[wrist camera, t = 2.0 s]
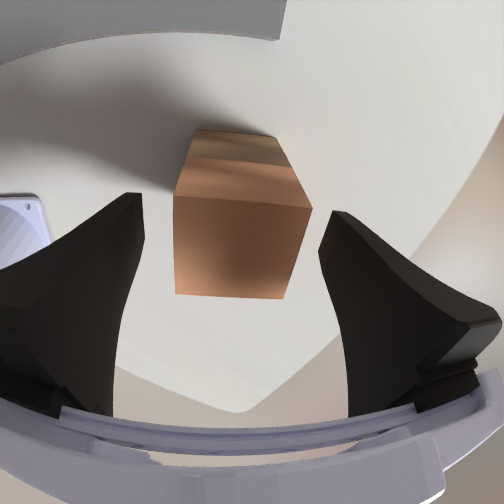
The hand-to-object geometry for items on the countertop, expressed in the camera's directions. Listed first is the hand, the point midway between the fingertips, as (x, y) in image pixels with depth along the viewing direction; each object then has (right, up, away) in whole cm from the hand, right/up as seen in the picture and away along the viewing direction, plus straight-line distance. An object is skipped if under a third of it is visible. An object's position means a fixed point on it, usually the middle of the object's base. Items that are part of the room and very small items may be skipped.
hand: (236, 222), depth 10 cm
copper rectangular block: (0, +3, +4) cm, 5 cm away
